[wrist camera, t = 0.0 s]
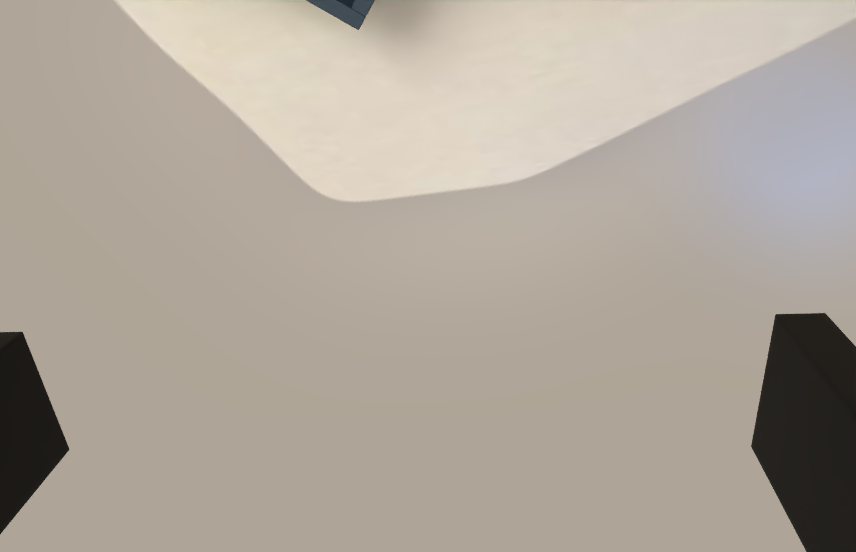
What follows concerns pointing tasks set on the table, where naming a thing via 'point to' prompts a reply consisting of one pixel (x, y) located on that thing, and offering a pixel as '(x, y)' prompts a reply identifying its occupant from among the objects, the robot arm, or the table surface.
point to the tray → (346, 10)
